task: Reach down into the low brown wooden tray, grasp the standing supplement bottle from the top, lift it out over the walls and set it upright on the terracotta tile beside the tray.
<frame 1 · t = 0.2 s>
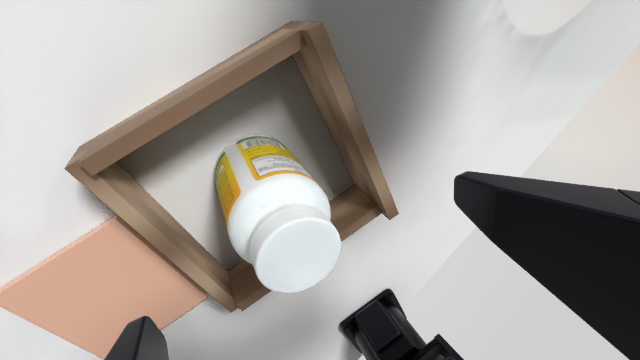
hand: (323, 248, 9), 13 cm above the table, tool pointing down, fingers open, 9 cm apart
supplement bottle: (252, 169, 22), resting in brown wooden tray
terracotta tile: (114, 292, 21), on the table
brown wooden tray: (253, 170, 22), on the table
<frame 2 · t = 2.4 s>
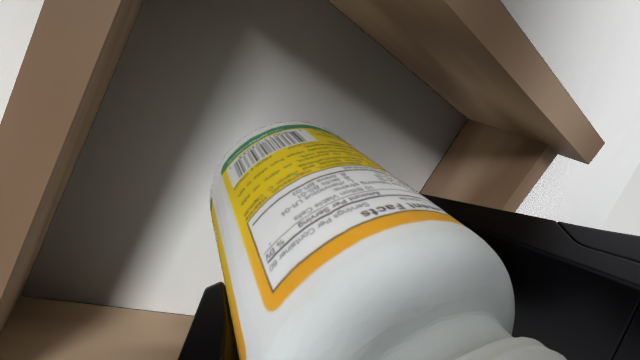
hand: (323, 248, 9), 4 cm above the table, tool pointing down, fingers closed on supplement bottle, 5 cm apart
supplement bottle: (283, 188, 12), resting in brown wooden tray, touching gripper
brown wooden tray: (285, 191, 11), on the table
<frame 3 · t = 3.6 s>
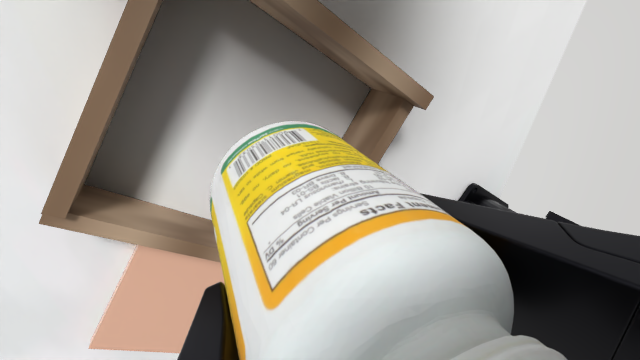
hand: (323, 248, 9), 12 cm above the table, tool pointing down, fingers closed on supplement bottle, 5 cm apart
supplement bottle: (283, 188, 12), point 8 cm above the table, touching gripper
terracotta tile: (189, 300, 21), on the table
brown wooden tray: (244, 130, 18), on the table
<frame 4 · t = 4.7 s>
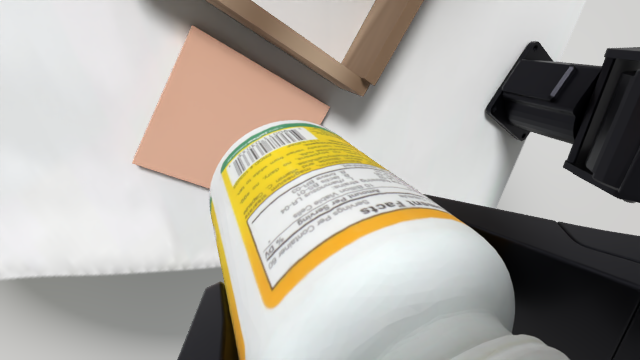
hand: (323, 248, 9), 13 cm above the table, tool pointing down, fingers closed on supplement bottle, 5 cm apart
supplement bottle: (282, 187, 12), point 9 cm above the table, touching gripper
terracotta tile: (237, 129, 19), on the table
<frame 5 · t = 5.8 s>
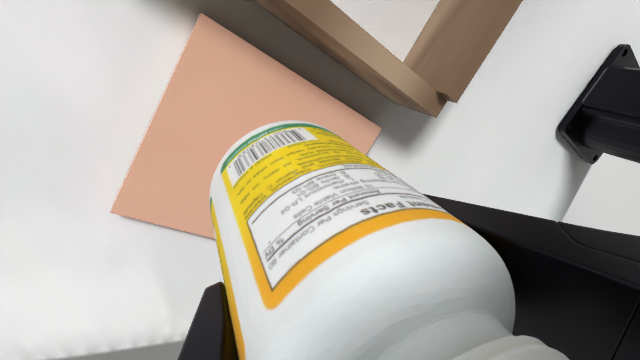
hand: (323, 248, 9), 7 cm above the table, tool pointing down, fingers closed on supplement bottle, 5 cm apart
supplement bottle: (283, 188, 12), point 3 cm above the table, touching gripper
terracotta tile: (259, 160, 14), on the table
when the fingers open (5 cm above the table, at t = 7.0 s): supplement bottle stays where it is, resting on terracotta tile.
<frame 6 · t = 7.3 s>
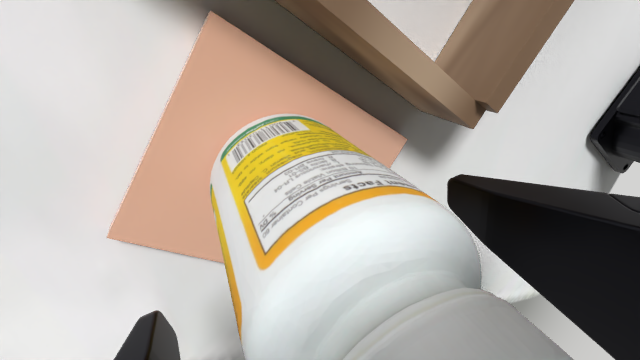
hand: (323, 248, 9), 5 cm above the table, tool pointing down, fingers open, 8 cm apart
supplement bottle: (278, 178, 12), resting on terracotta tile
terracotta tile: (273, 175, 13), on the table
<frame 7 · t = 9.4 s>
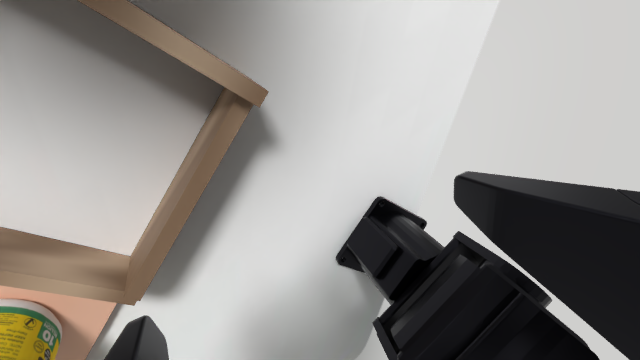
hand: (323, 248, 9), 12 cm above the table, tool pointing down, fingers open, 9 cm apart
supplement bottle: (5, 330, 18), resting on terracotta tile
terracotta tile: (6, 326, 18), on the table
brown wooden tray: (49, 124, 15), on the table
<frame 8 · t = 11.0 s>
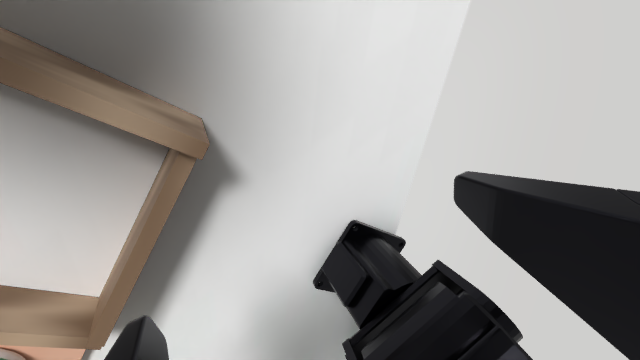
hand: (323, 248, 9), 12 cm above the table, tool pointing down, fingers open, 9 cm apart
brown wooden tray: (0, 181, 15), on the table
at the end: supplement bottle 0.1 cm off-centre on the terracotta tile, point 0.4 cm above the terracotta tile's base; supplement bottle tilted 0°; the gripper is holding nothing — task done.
